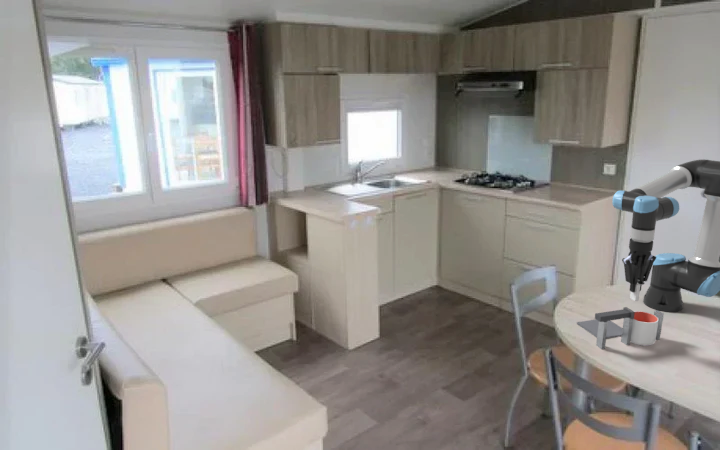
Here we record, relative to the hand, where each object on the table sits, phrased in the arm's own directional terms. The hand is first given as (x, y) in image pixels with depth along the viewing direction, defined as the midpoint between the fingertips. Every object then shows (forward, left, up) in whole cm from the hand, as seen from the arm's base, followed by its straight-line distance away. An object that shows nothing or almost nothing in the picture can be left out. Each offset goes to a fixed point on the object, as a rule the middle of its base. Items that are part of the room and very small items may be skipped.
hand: (634, 299), depth 195 cm
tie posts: (0, 0, -18) cm, 18 cm away
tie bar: (+8, 0, -7) cm, 11 cm away
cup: (-5, 0, -18) cm, 19 cm away
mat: (+2, -12, -18) cm, 21 cm away
